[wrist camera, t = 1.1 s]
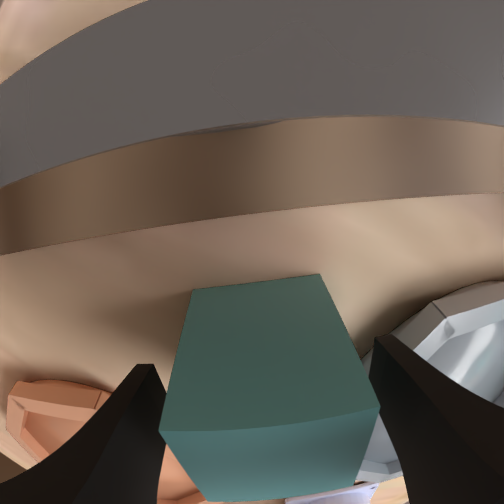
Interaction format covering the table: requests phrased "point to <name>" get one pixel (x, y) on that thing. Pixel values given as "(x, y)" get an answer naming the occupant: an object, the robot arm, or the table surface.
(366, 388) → the teal block
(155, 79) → the balance beam
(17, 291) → the table surface
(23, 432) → the terracotta dish
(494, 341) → the slate dish
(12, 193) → the stand
